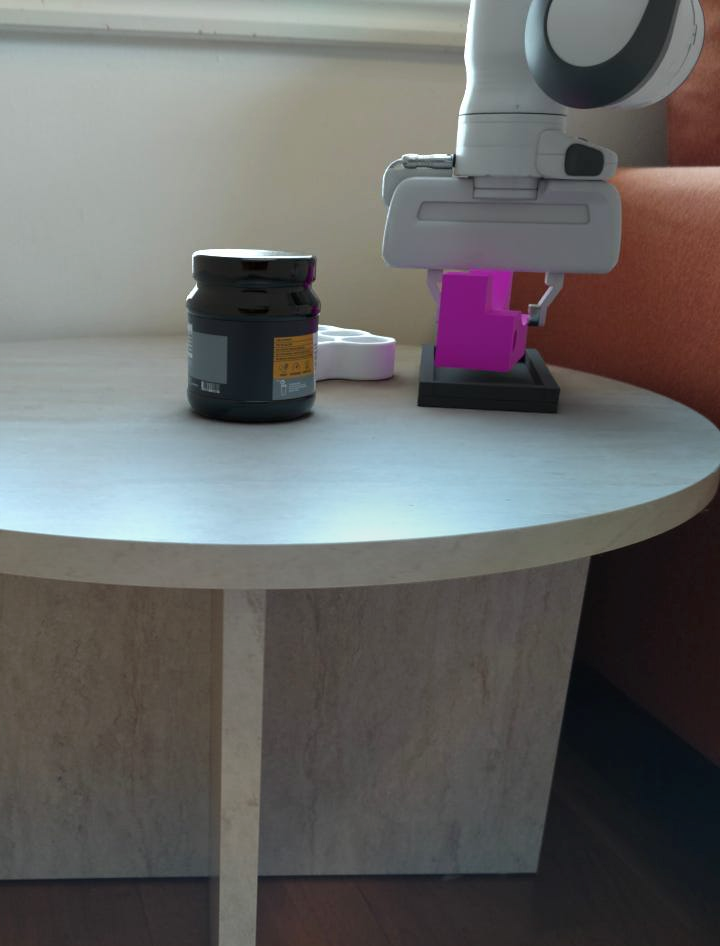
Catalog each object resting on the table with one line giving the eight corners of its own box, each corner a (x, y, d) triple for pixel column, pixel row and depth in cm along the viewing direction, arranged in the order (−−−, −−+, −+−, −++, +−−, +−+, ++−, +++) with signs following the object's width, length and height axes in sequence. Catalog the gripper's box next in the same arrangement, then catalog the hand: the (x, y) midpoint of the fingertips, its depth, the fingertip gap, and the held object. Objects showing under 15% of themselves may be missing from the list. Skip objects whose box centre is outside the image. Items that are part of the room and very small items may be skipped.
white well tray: (190, 363, 103) (290, 349, 112) (322, 390, 91) (422, 372, 100) (190, 328, 101) (292, 317, 111) (324, 351, 90) (426, 337, 99)
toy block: (507, 371, 86) (519, 278, 83) (434, 366, 88) (442, 274, 85) (530, 347, 98) (541, 264, 95) (466, 342, 101) (474, 261, 97)
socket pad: (534, 369, 103) (537, 348, 102) (556, 413, 84) (560, 388, 83) (420, 363, 105) (422, 343, 104) (417, 405, 86) (419, 381, 85)
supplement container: (342, 412, 83) (351, 255, 78) (251, 431, 76) (255, 260, 71) (251, 392, 90) (254, 246, 85) (159, 408, 83) (157, 251, 78)
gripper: (383, 152, 85) (371, 324, 91) (638, 155, 82) (610, 333, 88) (386, 154, 91) (375, 316, 96) (625, 157, 88) (599, 323, 93)
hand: (489, 324), depth 92 cm, fingers closed on toy block, 7 cm apart
